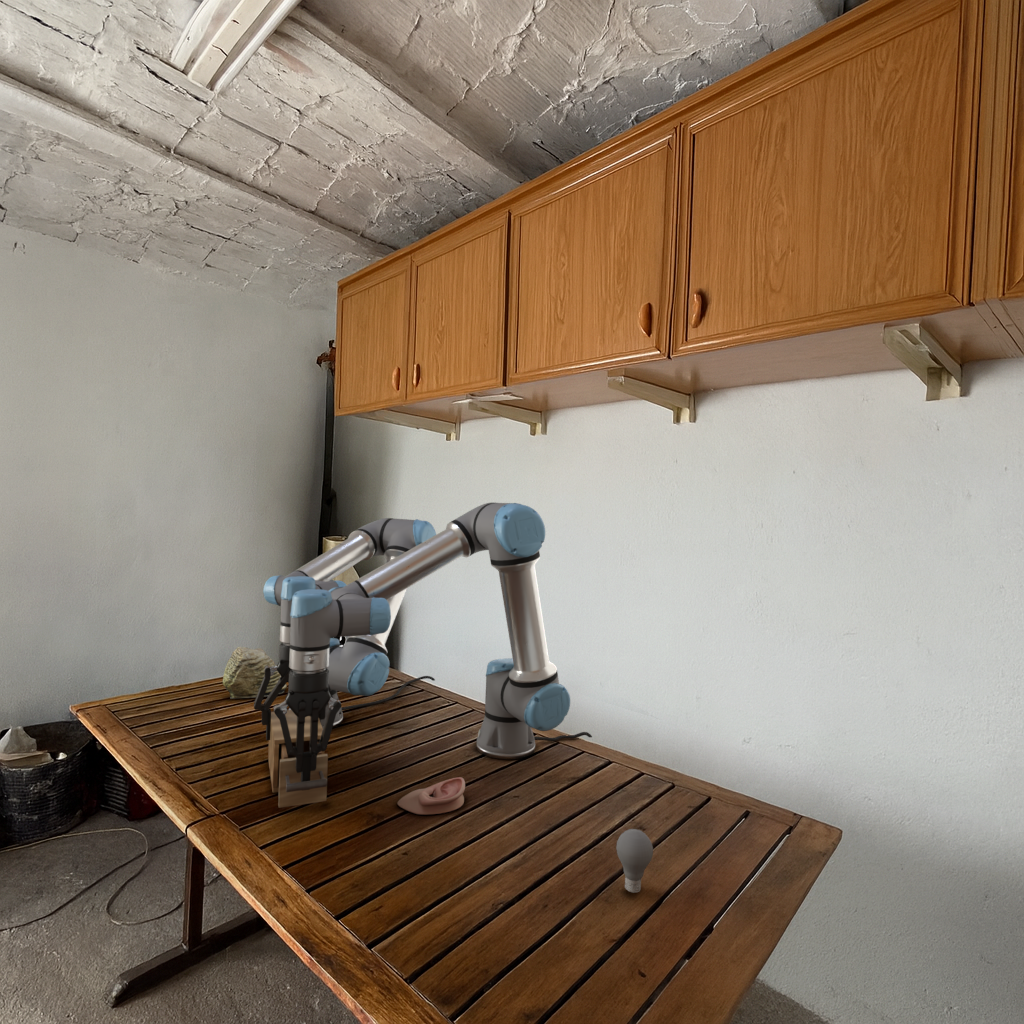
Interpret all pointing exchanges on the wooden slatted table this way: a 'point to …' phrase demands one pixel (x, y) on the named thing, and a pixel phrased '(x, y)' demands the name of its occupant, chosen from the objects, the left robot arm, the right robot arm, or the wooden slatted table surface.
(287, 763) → the drawer
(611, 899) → the wooden slatted table surface
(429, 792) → the anatomical model
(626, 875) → the light bulb
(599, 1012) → the wooden slatted table surface
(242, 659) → the fossil
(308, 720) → the cabinet
